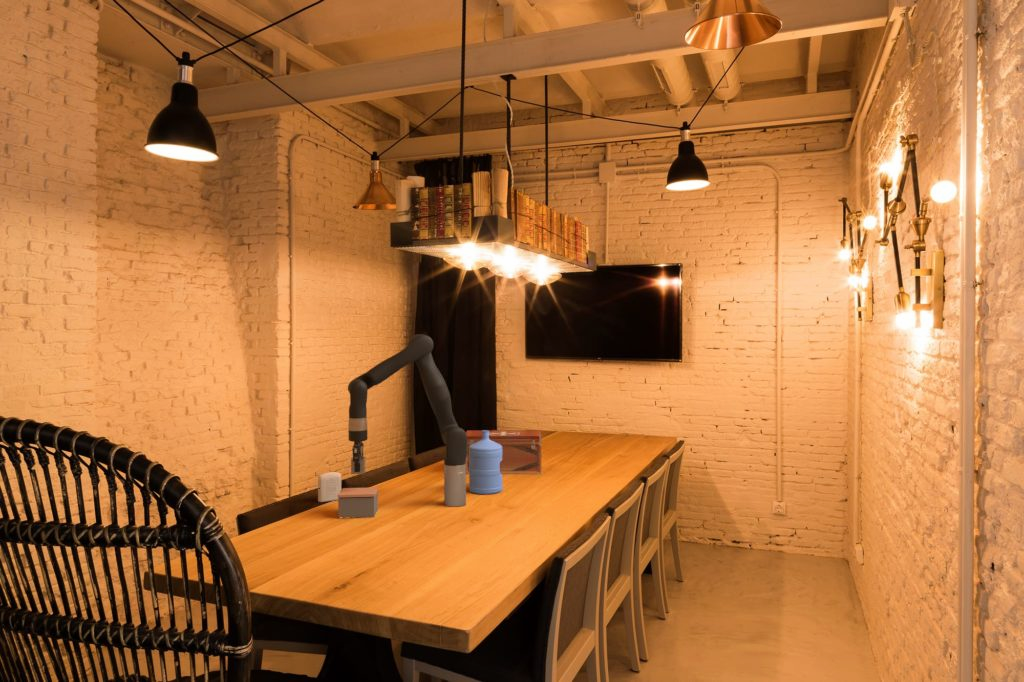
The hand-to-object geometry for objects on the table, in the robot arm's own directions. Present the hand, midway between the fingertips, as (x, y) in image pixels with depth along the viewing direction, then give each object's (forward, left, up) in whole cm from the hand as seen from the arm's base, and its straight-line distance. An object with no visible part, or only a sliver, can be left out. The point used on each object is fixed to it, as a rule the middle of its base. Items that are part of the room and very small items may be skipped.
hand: (358, 470), depth 277 cm
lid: (0, 0, -9) cm, 9 cm away
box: (0, 0, -18) cm, 18 cm away
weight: (0, 0, -1) cm, 1 cm away
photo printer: (+16, -24, -18) cm, 34 cm away
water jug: (-53, -35, -18) cm, 66 cm away
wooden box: (-64, -80, -18) cm, 104 cm away
